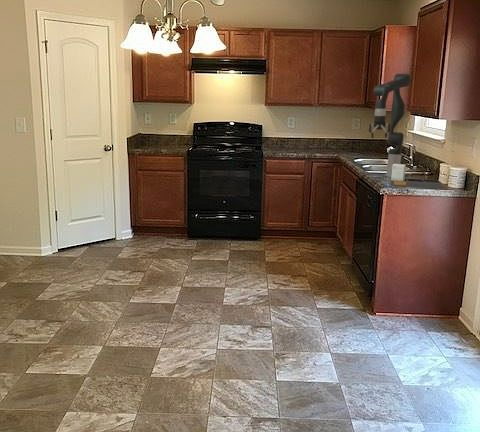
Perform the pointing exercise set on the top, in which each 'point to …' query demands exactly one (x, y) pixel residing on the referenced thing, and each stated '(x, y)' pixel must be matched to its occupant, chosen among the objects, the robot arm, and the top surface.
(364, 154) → the top surface
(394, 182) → the rack
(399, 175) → the small box
